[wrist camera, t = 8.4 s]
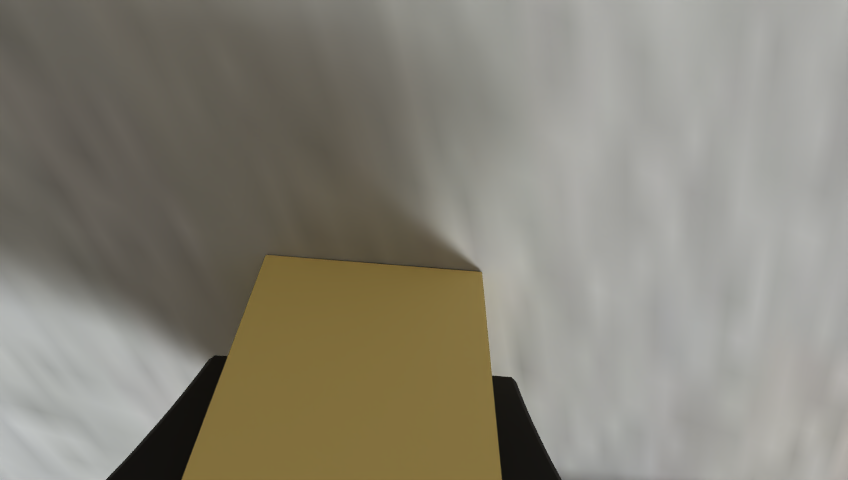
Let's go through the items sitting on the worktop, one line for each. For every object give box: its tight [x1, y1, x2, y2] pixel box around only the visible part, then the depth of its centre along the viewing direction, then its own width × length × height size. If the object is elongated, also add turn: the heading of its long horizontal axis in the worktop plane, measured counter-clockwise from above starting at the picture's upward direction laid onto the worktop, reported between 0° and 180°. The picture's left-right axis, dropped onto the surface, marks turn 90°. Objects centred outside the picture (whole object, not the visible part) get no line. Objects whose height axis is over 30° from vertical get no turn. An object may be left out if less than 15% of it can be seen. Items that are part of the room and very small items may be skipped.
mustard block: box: [182, 255, 502, 480], centre depth 11 cm, size 4×4×6 cm
